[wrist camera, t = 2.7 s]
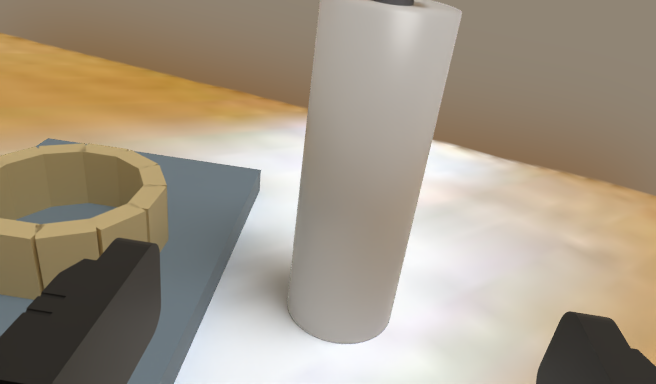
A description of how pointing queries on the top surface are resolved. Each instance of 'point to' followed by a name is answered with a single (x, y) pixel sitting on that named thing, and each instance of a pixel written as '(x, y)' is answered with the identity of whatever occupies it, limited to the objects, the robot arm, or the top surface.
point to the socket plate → (185, 257)
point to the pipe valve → (365, 158)
